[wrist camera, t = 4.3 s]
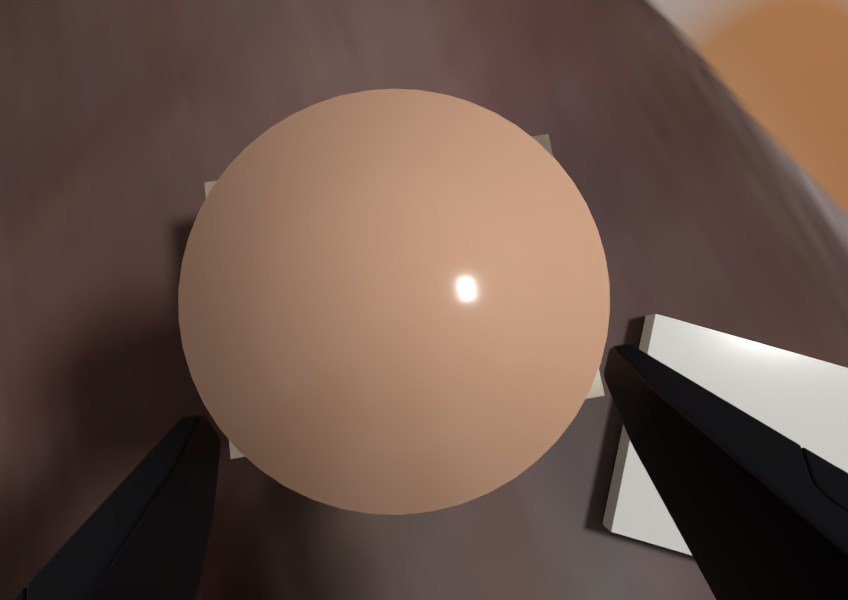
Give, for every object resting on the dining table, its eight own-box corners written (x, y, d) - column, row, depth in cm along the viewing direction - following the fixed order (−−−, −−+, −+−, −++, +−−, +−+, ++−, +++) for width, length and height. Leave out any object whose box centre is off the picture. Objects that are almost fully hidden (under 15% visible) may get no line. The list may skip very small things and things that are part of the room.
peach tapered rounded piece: (498, 400, 18) (654, 471, 6) (339, 426, 18) (197, 553, 6) (470, 247, 19) (562, 64, 7) (319, 270, 19) (162, 117, 7)
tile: (815, 586, 18) (834, 596, 17) (602, 524, 18) (611, 531, 17) (844, 372, 19) (863, 372, 18) (645, 315, 19) (655, 313, 18)
